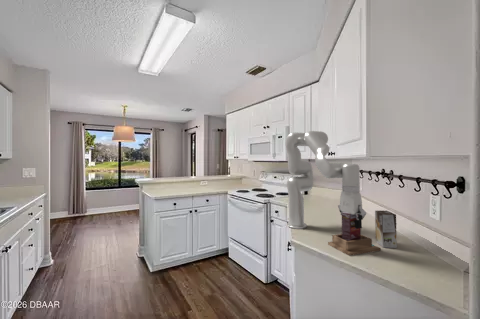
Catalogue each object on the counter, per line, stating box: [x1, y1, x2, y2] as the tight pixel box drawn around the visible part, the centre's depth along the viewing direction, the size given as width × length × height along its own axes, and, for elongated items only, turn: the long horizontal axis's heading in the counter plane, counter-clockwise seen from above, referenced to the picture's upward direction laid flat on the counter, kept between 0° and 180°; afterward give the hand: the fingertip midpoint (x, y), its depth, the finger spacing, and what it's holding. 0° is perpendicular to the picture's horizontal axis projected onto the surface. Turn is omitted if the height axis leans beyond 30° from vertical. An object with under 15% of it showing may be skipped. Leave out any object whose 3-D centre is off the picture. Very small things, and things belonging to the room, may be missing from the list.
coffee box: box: [374, 210, 398, 249], centre depth 112 cm, size 9×6×16 cm
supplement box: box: [341, 212, 362, 241], centre depth 109 cm, size 9×5×16 cm, turn 122°
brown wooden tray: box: [327, 233, 381, 257], centre depth 109 cm, size 14×18×5 cm
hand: (351, 225), depth 109 cm, fingers open, 8 cm apart
